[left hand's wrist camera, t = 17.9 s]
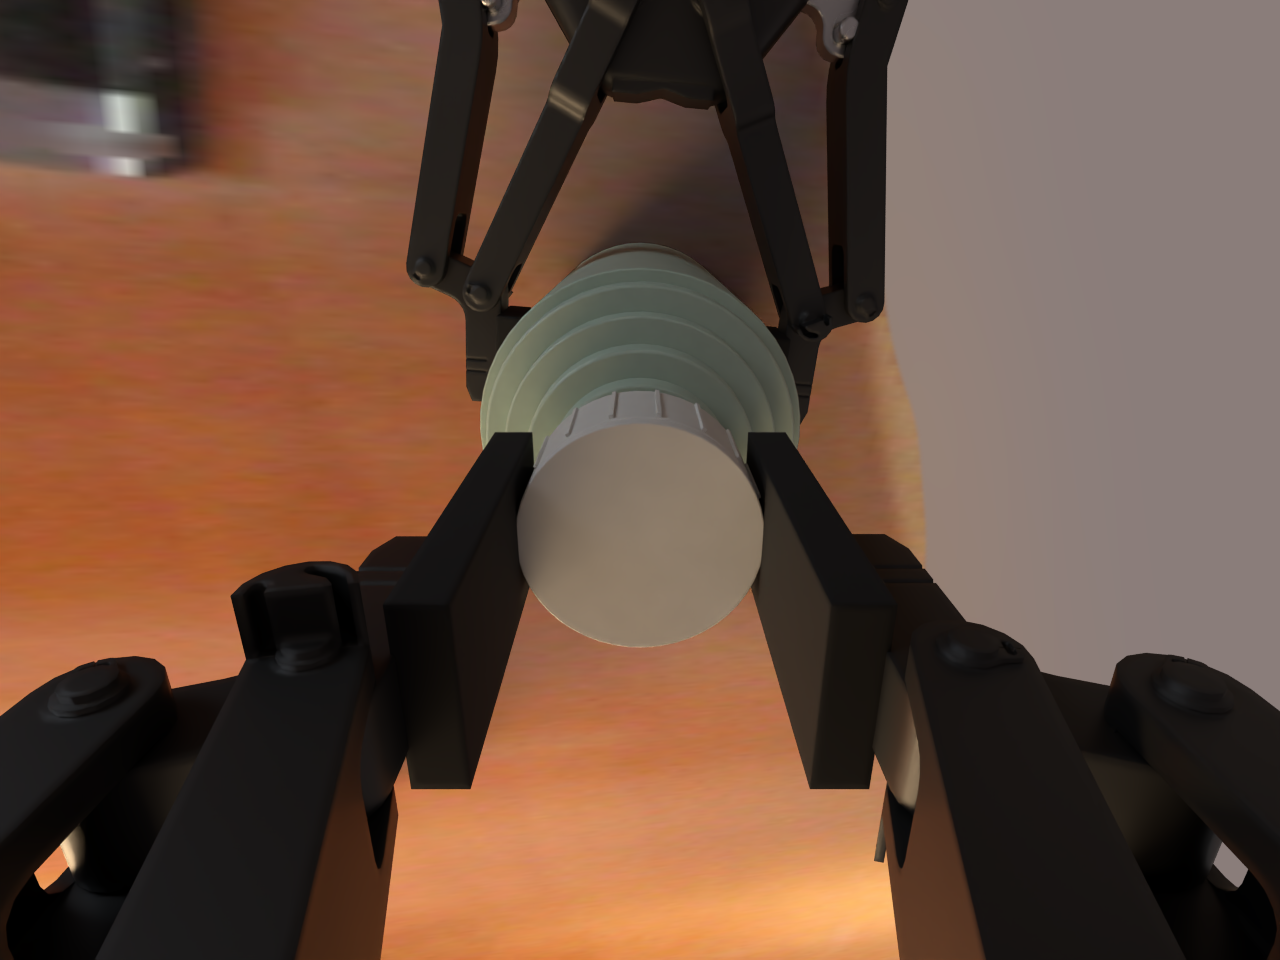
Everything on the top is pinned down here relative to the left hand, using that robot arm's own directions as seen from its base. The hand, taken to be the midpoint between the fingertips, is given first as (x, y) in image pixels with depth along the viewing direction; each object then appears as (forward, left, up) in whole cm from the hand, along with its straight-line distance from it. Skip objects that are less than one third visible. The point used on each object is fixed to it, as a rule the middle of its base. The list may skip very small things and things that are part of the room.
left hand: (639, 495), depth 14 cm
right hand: (+2, -4, -11) cm, 12 cm away
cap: (0, 0, +2) cm, 2 cm away
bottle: (0, 0, -17) cm, 17 cm away
